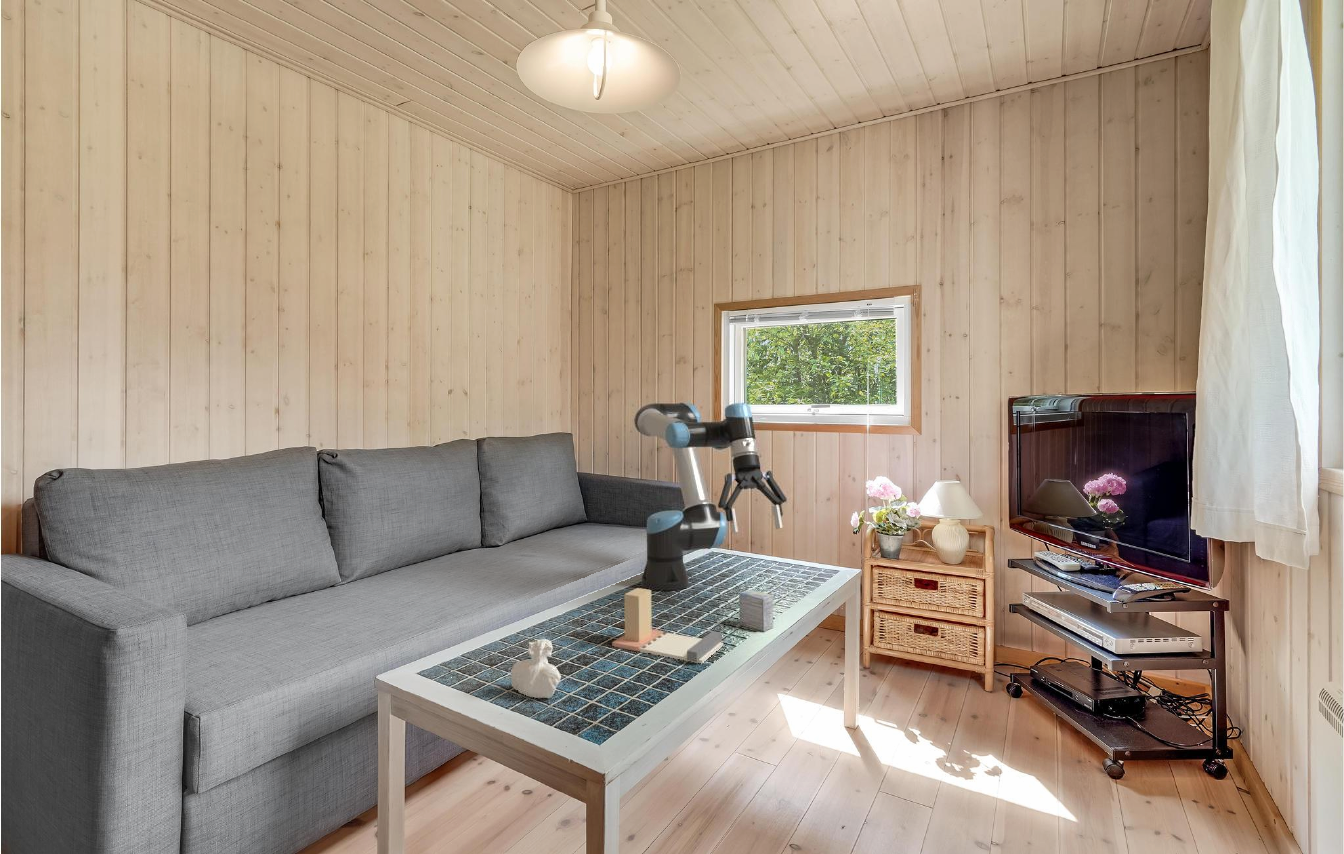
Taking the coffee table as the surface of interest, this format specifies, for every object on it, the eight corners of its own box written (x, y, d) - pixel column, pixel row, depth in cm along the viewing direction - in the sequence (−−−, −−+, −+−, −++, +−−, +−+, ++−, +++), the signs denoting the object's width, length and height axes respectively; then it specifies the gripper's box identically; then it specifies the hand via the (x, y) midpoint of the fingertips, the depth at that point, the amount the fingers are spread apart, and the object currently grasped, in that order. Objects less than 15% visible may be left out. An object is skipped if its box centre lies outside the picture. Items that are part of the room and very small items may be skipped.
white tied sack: (562, 708, 127) (582, 652, 133) (542, 697, 122) (563, 639, 128) (515, 695, 133) (536, 642, 139) (494, 685, 128) (517, 629, 133)
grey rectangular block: (773, 627, 166) (773, 594, 166) (763, 632, 163) (763, 598, 163) (749, 621, 172) (748, 589, 172) (738, 625, 169) (738, 592, 168)
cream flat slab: (637, 653, 149) (637, 641, 149) (666, 634, 162) (666, 623, 162) (700, 666, 142) (699, 653, 142) (724, 645, 154) (724, 633, 154)
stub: (612, 646, 154) (611, 596, 153) (638, 630, 164) (637, 584, 164) (638, 651, 150) (638, 600, 150) (663, 635, 161) (662, 587, 161)
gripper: (709, 455, 176) (720, 532, 170) (790, 450, 184) (803, 524, 178) (700, 461, 183) (710, 536, 177) (778, 457, 191) (790, 528, 185)
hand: (757, 530), depth 178 cm, fingers open, 13 cm apart
